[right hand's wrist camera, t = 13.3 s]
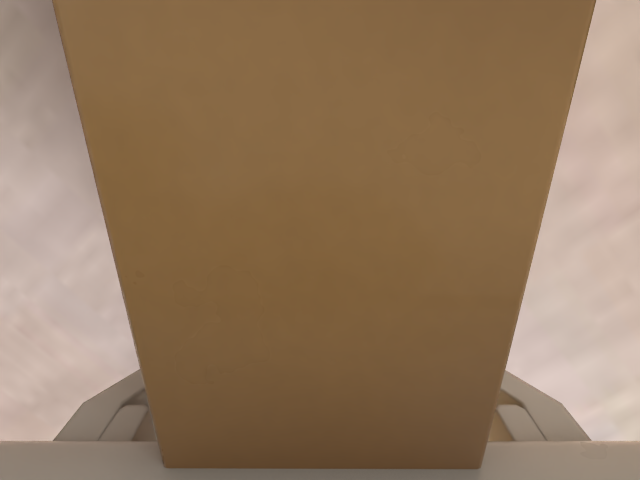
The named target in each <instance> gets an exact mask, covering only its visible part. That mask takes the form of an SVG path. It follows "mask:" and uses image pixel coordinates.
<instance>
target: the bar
mask: <svg viewBox="0 0 640 480" xmlns="http://www.w3.org/2000/svg"><path fill="white" fill-rule="evenodd" d="M52 2H53V6H54V11H55V15H56V19H57V23H58V27H59V31H60V36H61V40H62V44H63V48H64V52H65V56H66V61H67V65H68V69H69V73H70V77H71V82H72V86H73V90H74V94H75V98H76V102H77V107H78V111H79V115H80V119H81V123H82V127H83V132H84V136H85V140H86V144H87V148H88V153H89V157H90V161H91V165H92V169H93V173H94V178H95V182H96V186H97V190H98V194H99V198H100V203H101V207H102V211H103V215H104V219H105V224H106V228H107V232H108V236H109V240H110V244H111V249H112V253H113V257H114V261H115V265H116V269H117V274H118V278H119V282H120V286H121V290H122V295H123V299H124V303H125V307H126V311H127V315H128V320H129V324H130V328H131V332H132V336H133V340H134V345H135V349H136V353H137V357H138V361H139V366H140V370H141V374H142V378H143V382H144V386H145V391H146V395H147V399H148V403H149V407H150V411H151V416H152V420H153V424H154V428H155V432H156V437H157V441H158V445H159V449H160V453H161V457H162V462H163V466H164V467H166V468H219V469H479V468H481V465H482V461H483V457H484V453H485V449H486V445H487V441H488V437H489V433H490V429H491V425H492V421H493V417H494V413H495V409H496V404H497V400H498V396H499V392H500V388H501V384H502V380H503V376H504V372H505V368H506V364H507V360H508V356H509V352H510V348H511V344H512V340H513V336H514V331H515V327H516V323H517V319H518V315H519V311H520V307H521V303H522V299H523V295H524V291H525V287H526V283H527V279H528V275H529V271H530V267H531V262H532V258H533V254H534V250H535V246H536V242H537V238H538V234H539V230H540V226H541V222H542V218H543V214H544V210H545V206H546V202H547V198H548V194H549V189H550V185H551V181H552V177H553V173H554V169H555V165H556V161H557V157H558V153H559V149H560V145H561V141H562V137H563V133H564V129H565V125H566V121H567V116H568V112H569V108H570V104H571V100H572V96H573V92H574V88H575V84H576V80H577V76H578V72H579V68H580V64H581V60H582V56H583V52H584V47H585V43H586V39H587V35H588V31H589V27H590V23H591V19H592V15H593V11H594V7H595V3H596V0H52Z"/></svg>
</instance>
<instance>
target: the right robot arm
mask: <svg viewBox="0 0 640 480" xmlns="http://www.w3.org/2000/svg"><path fill="white" fill-rule="evenodd" d="M0 480H640V441H591V439H590V438H589V437H588V436H587V434H586V433H585V432H584V431H583V429H582V428H581V427H580V426H579V424H578V423H577V422H576V421H575V419H574V418H573V417H572V416H571V414H570V413H569V412H568V411H567V410H566V408H565V407H564V406H563V405H562V403H560V402H558V401H556V400H555V399H553V398H551V397H550V396H548V395H546V394H545V393H543V392H541V391H540V390H538V389H536V388H535V387H533V386H531V385H529V384H528V383H526V382H524V381H523V380H521V379H519V378H518V377H516V376H514V375H513V374H511V373H509V372H508V371H506V370H505V372H504V376H503V380H502V384H501V388H500V392H499V396H498V400H497V404H496V409H495V413H494V417H493V421H492V425H491V429H490V433H489V437H488V441H487V445H486V449H485V453H484V457H483V461H482V465H481V468H479V469H219V468H166V467H164V466H163V462H162V457H161V453H160V449H159V445H158V441H157V437H156V432H155V428H154V424H153V420H152V416H151V411H150V407H149V403H148V399H147V395H146V391H145V386H144V382H143V378H142V374H141V370H140V369H139V370H138V371H136V372H134V373H133V374H131V375H129V376H128V377H126V378H124V379H123V380H121V381H119V382H118V383H116V384H114V385H113V386H111V387H109V388H108V389H106V390H104V391H102V392H101V393H99V394H97V395H96V396H94V397H92V398H91V399H89V400H87V401H86V402H84V403H83V404H82V405H81V406H80V408H79V409H78V410H77V411H76V413H75V414H74V415H73V416H72V418H71V419H70V420H69V421H68V423H67V424H66V425H65V426H64V428H63V429H62V430H61V431H60V433H59V434H58V435H57V436H56V438H55V439H54V440H53V441H0Z"/></svg>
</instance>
